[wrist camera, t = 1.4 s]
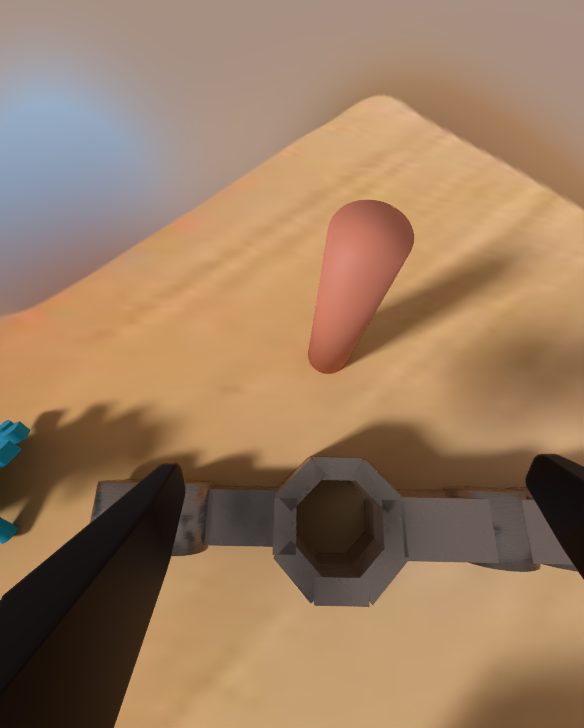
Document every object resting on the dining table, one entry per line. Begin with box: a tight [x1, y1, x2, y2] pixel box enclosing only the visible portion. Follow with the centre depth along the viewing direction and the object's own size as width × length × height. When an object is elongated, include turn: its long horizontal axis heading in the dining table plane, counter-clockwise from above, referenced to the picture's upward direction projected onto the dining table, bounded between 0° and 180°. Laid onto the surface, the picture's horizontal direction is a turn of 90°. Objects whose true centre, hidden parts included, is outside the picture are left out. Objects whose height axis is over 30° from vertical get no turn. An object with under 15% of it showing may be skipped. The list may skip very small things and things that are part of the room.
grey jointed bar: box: [90, 457, 577, 607], centre depth 18 cm, size 7×30×4 cm, turn 89°
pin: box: [308, 200, 414, 374], centre depth 17 cm, size 3×3×13 cm
